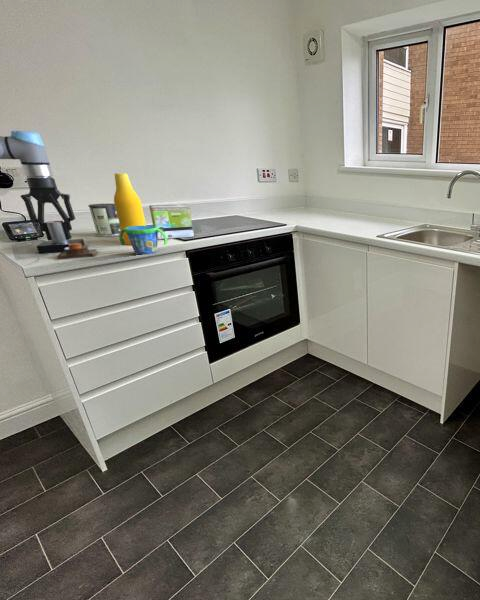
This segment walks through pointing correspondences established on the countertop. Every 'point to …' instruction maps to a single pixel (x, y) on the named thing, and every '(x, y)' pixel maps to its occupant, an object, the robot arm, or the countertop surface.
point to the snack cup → (143, 238)
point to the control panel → (56, 246)
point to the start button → (75, 246)
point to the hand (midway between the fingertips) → (59, 239)
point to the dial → (57, 232)
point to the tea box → (172, 220)
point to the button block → (77, 253)
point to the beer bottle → (127, 205)
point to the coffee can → (105, 219)
